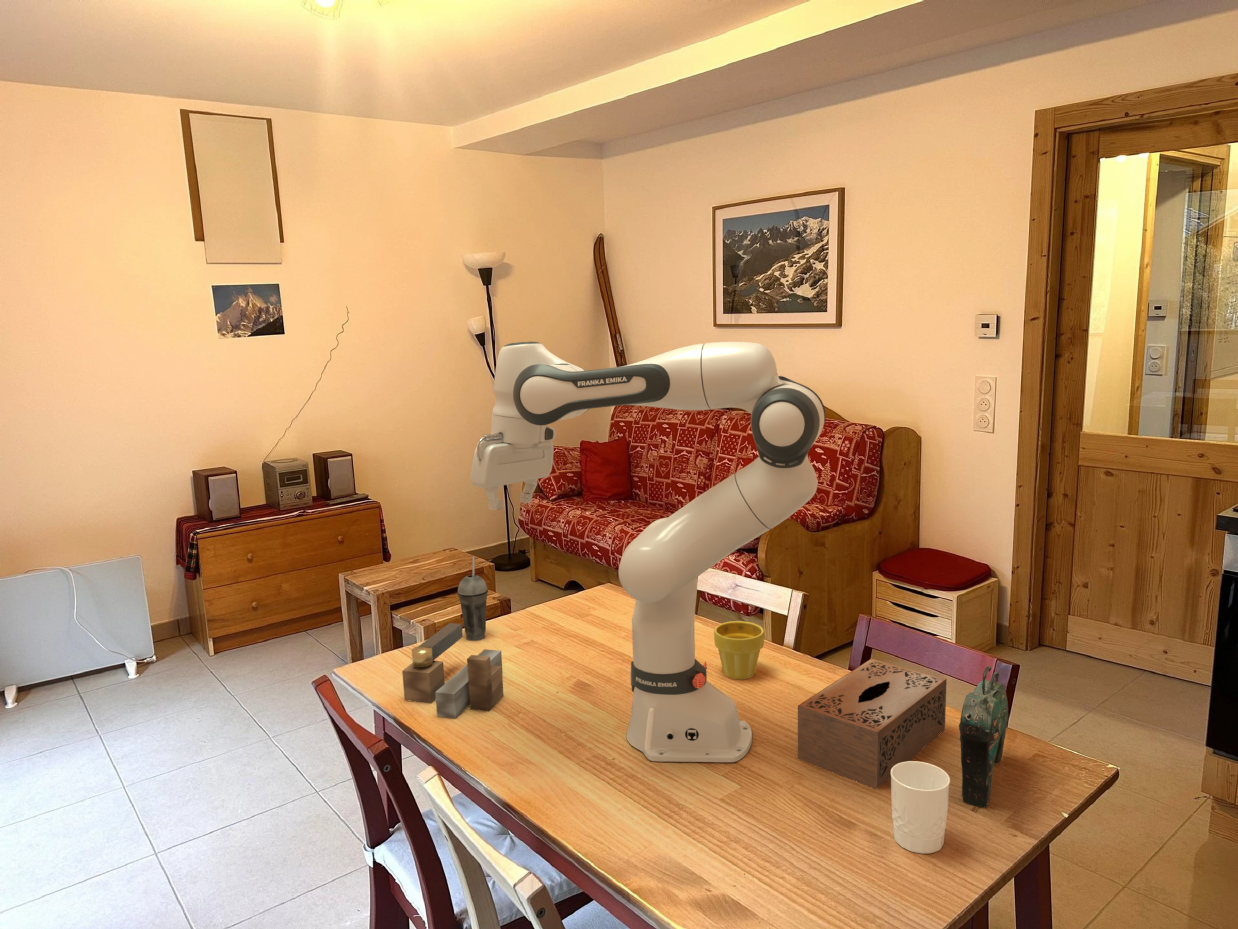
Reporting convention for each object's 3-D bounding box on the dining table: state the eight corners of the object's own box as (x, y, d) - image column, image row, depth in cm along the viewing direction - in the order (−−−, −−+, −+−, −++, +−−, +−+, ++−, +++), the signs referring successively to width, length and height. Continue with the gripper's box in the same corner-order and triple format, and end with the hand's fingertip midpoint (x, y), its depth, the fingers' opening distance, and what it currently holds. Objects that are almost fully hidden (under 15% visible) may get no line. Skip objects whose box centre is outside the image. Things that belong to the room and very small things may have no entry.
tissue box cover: (876, 791, 134) (877, 732, 132) (797, 760, 144) (797, 705, 142) (944, 731, 152) (946, 678, 151) (870, 708, 162) (871, 658, 161)
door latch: (523, 674, 182) (521, 628, 181) (479, 721, 162) (476, 669, 160) (444, 667, 188) (441, 622, 186) (391, 711, 167) (387, 661, 165)
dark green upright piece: (992, 817, 126) (997, 690, 122) (946, 804, 129) (950, 681, 126) (1012, 757, 142) (1018, 644, 139) (971, 748, 146) (976, 637, 142)
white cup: (934, 822, 125) (936, 759, 123) (957, 855, 117) (959, 789, 115) (881, 825, 125) (882, 762, 123) (900, 858, 117) (902, 792, 115)
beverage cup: (454, 640, 204) (448, 560, 200) (472, 630, 210) (467, 552, 207) (478, 644, 200) (473, 563, 197) (496, 634, 206) (492, 555, 203)
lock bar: (426, 668, 170) (425, 653, 170) (408, 666, 171) (407, 652, 171) (464, 637, 186) (463, 624, 186) (448, 635, 187) (447, 623, 187)
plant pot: (763, 684, 173) (763, 639, 172) (713, 682, 175) (712, 637, 174) (764, 664, 183) (764, 621, 182) (716, 662, 185) (715, 620, 184)
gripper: (493, 437, 142) (488, 517, 145) (561, 430, 160) (555, 501, 162) (464, 432, 146) (459, 510, 148) (534, 425, 163) (528, 495, 165)
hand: (510, 505), depth 155 cm, fingers open, 8 cm apart
